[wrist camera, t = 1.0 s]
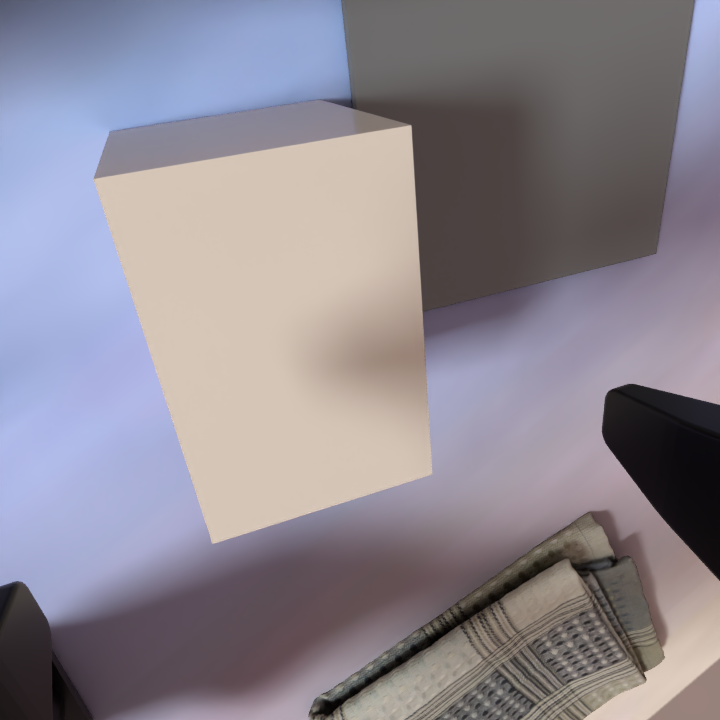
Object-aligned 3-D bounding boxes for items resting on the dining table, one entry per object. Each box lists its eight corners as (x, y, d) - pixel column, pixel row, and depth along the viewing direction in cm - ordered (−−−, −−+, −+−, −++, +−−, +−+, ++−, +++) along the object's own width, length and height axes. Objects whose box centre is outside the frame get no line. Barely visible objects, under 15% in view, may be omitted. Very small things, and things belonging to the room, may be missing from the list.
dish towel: (437, 792, 40) (459, 845, 38) (298, 694, 31) (313, 756, 28) (657, 636, 41) (694, 678, 38) (588, 489, 31) (631, 531, 28)
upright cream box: (353, 360, 22) (432, 474, 16) (191, 402, 21) (212, 543, 15) (319, 99, 17) (411, 124, 12) (109, 131, 16) (93, 178, 10)
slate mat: (648, 250, 24) (656, 253, 24) (374, 318, 21) (378, 322, 21) (702, -120, 18) (713, -124, 18) (331, -92, 15) (336, -95, 15)
